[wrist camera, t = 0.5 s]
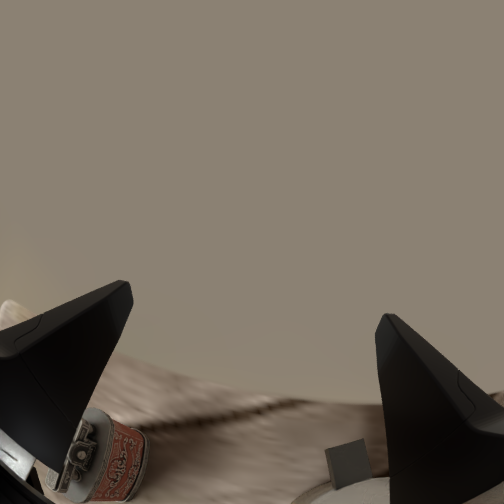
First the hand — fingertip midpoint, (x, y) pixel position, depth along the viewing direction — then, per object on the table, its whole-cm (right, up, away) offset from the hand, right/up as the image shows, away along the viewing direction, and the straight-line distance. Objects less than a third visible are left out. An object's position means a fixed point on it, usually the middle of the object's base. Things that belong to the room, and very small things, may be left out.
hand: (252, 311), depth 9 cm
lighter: (-11, -17, +7) cm, 21 cm away
